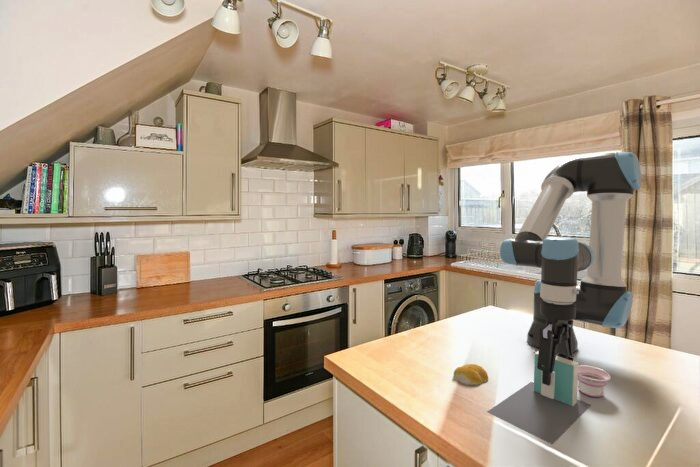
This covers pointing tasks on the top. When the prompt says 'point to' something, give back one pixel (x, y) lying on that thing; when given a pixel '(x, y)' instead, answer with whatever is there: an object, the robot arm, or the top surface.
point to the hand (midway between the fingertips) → (554, 390)
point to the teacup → (592, 380)
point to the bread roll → (471, 374)
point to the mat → (538, 413)
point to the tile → (560, 379)
